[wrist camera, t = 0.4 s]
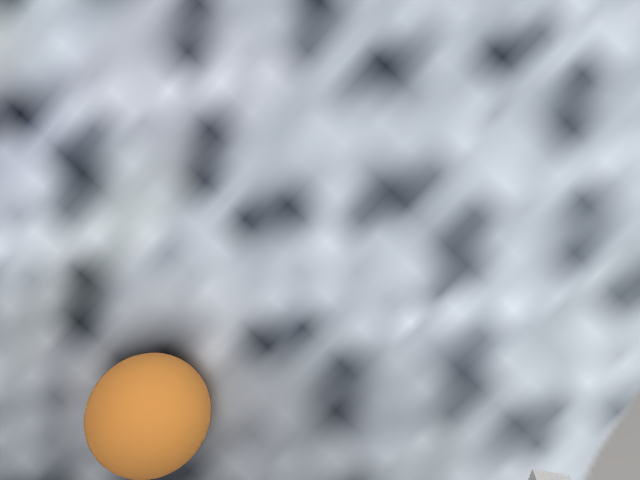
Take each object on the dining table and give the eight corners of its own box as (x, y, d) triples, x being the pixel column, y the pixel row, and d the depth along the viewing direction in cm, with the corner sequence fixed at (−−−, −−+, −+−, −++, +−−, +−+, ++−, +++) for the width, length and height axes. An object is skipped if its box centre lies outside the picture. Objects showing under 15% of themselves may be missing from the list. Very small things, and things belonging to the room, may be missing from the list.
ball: (208, 457, 26) (182, 516, 21) (102, 436, 26) (48, 491, 21) (229, 353, 26) (209, 385, 21) (123, 331, 26) (75, 358, 21)
